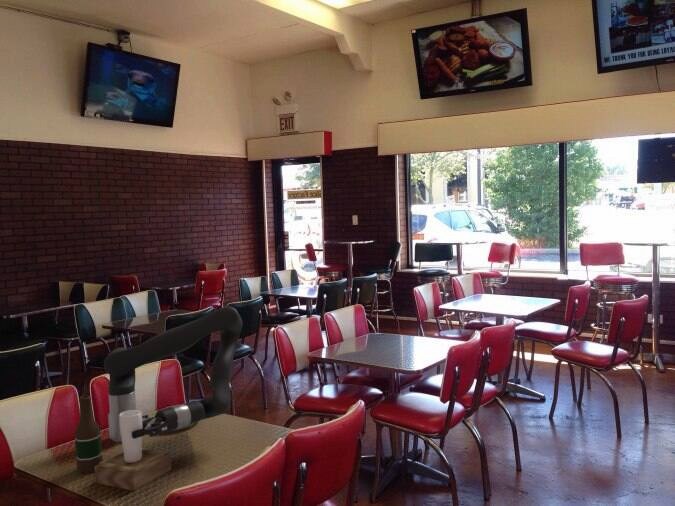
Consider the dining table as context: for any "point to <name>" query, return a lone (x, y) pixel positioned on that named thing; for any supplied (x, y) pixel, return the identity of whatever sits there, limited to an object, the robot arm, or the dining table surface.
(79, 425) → the beer bottle
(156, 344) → the robot arm
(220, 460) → the dining table surface
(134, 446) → the drinking glass
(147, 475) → the wooden box
